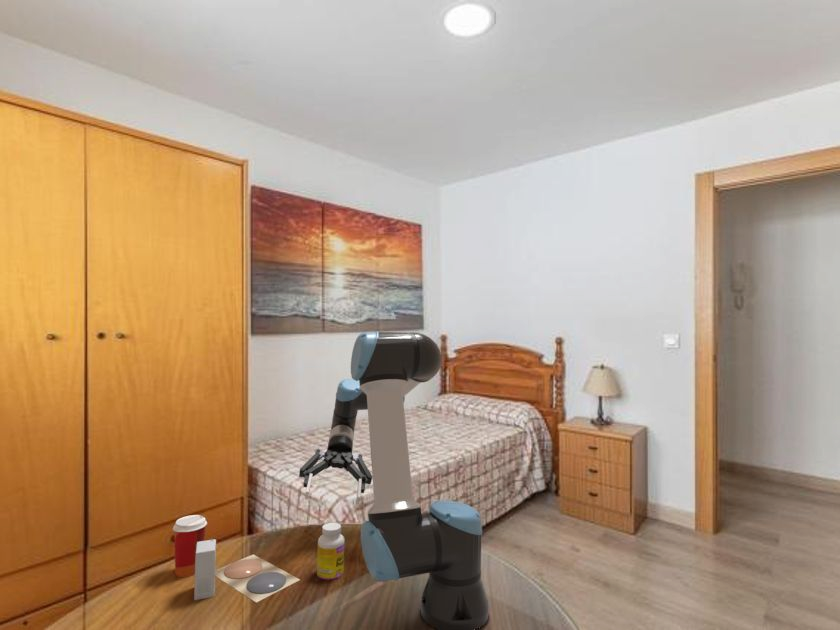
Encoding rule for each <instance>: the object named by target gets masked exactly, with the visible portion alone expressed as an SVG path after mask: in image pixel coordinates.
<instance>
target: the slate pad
mask: <svg viewBox="0 0 840 630" xmlns="http://www.w3.org/2000/svg"><path fill="white" fill-rule="evenodd" d="M285 583H286V577H285V576H284V575H283V574H281V573H278V572H266V573H261V574H258V575H256V576H254V577H252V578H251V579H250V580H249V581H248V582H247V589H248V591H250V592H252V593H255V594H266V593H271V592H274V591H277V590H279V589H280V588H282V587H283V586H284V585H285Z"/></svg>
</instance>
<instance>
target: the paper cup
mask: <svg viewBox="0 0 840 630" xmlns="http://www.w3.org/2000/svg"><path fill="white" fill-rule="evenodd" d="M207 525H208V522H207V520H206V517H204V516H203V515H201V514H193V515H192V514H191V515H186V516H182V517H180V518H178V519H177V520H176V521H175V523H174V525H173V527H172V531H173V532H174V533H173V534H174V565H175V566H174V570H175V572H174V573H175V575H176V576H177V577H178V578H179V577H180V578H187V577H191V576H195V558H196V545H197V542H200V541H205V536H206V535H205V533H206V526H207Z"/></svg>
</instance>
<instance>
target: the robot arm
mask: <svg viewBox="0 0 840 630" xmlns="http://www.w3.org/2000/svg"><path fill="white" fill-rule="evenodd" d="M353 344H354V345H353V348H352V352H351V359H350V374H351V378H345V379H342V380H340V382H339V383H338V385H337V390H336V393H335V401H334V409H333V415H332V420H331V421H332V422H331V427H330V432H329V437H328V443H327V448H326V451H325V452H322V451H321V449H319V448H317V449H316V450H315V453H314V454H313V455H312V456H311V457H310V458H309V459H308V460H307V461H306V462H305V463H304V464H303V465H302V466H301V467H300V468H299V471H298V473H299V474H298V476H299V478H304V479H303V480H304V481H303V488H306V489H305V490H306V491H305V495H304V500H309V495H310V490H311V486H312V481H313V478H314V477H315V476H317V475H318V474H319V473H321V472H323V471H324V470H327V469H328V468H330V467H331V468H333V469H334V468H335V469H344V470H345V471H346V472H348V473H349V474H350V475H351V476H352V477H353V478H354V479H355V480H356V481H357V490H356V491H357V492H356V502H355V505H359V504H360V500H361V496H362V494H364V493H365V490H366V485H371V484H372V489H373V501H374V502H373V504H372V506H371V507H370V508H369V510H368V511H367V515H368V517H367V520H365V521H364V522H363V523H361V525H360V542H361V543H360V545H361V550H362V554H363V559H364V562H365V565H366V567H367V570H368V573H369V574H370V576H371V577H372V578H373V579H374V580H376V581H378V582H389V581H398V580H399V579H405V578H410V577H415V576H419V575H425V574H426V575H427V574H428V577H427V579H426V582H425V583H426V584H425V586H424V589H423V591H422V595H421V599H420V614H421V617H422V619H423V621H425V623H426V624H428V625H429V626H430V627H432V628H433V627H434V629H435V628H436V629H435V630H438V629H439V630H474V629H477V630H479V629H480V628H479V627H481V626H482V627H484V626H485V624H486V623H487V621H488V620H489V615H490V614H489V610H490V609H489V601H488V599H487V594H486V591H485V586H484V584H483V580H482V535H483V525H482V517H481V514H480V513H479V511H478V510H476V509H475V508H474V507H472V506H470V505H468V504H465V503H463V502H460V501H454V500H438V501H434V502H432V503H430V506H429V509H428V510H429V512H426V513H422V506H421V504H420V503H419V502H417V501H416V500H415V498H414V496H413V484H412V476H411V475H412V474H411V464H410V454H409V446H408V445H409V444H408V443H409V442H408V434H407V425H406V423H407V422H406V411H405V400H406V399H405V398H406V396H407V395H408V394H409V393H410V392H411V391H413V390H414V389H415V388H416V387H417V386H418V385H420V384H421V383H426V382H428V381H431V380H432V379H433V378H434V377H435V376H436V375H437V374H438V373H439V371H440V370H441V367H442V363H443V362H442V359H443V358H442V352H441V349H440V348H439V345H438V343H436V342H435V341H434V340H433V339H432V338H431V337H430V336H427V335H426V334H423V333H419V332H403V331H402V332H400V331H398V332H397V331H395V332H392V331H378V330H377V331H372V332H371V331H368V332H367V331H366V332H365V331H364V332H362V333H360V334H359V335H358V336H357V338H356V340H355V342H354V343H353ZM365 410H366V411H367V417H368V431H369V434H368V435H369V445H370V460H371V471H370V470H369V468H368V467H367V465H366V463H365V461H364V460H363V454H362V453H359V454H358V455H353V449H354V448H353V445H354V439H355V428H356V427H355V426H356V421H357V416H358V411H365ZM322 458H323V460H321V459H322ZM319 461H320V462H319ZM354 463H355V464H354ZM356 465H357V466H356ZM482 627H481V628H482ZM478 628H479V629H478Z"/></svg>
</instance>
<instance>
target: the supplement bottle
mask: <svg viewBox="0 0 840 630" xmlns="http://www.w3.org/2000/svg"><path fill="white" fill-rule="evenodd" d="M321 528H322V530H321V532H322V534H321V535H320V537H318V541H317V560H316V576H317V577H318V578H320V579H321V580H334V579H337V578H340V577H342V576H343V574H344V571H345V570H344V569H345V536H343V535H342V534H341V532H342V525H341V524H340V523H338V522H328V523H325V524H323V525H322V527H321Z"/></svg>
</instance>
